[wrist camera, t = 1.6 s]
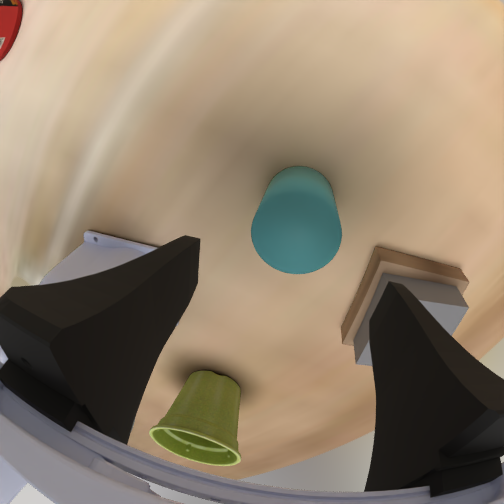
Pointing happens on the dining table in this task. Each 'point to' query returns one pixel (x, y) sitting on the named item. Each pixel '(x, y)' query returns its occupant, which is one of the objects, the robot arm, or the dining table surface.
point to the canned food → (9, 24)
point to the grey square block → (429, 294)
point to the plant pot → (203, 421)
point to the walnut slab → (398, 266)
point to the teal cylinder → (297, 222)
